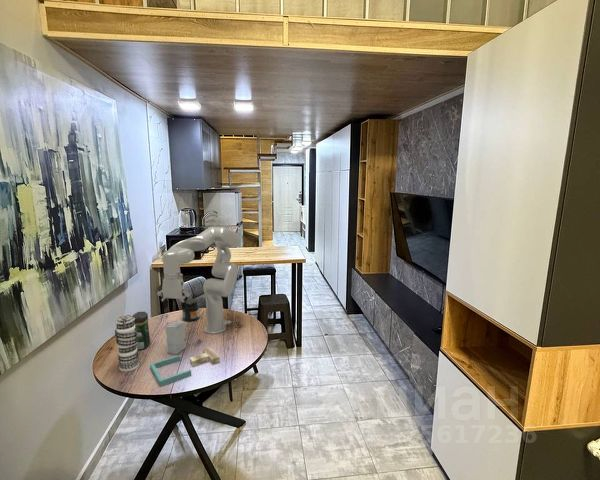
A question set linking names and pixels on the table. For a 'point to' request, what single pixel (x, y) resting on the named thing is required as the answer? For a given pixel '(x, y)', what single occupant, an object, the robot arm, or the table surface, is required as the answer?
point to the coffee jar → (142, 330)
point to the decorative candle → (127, 343)
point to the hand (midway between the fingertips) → (174, 308)
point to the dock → (172, 378)
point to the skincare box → (176, 337)
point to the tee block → (205, 358)
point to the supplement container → (191, 310)
